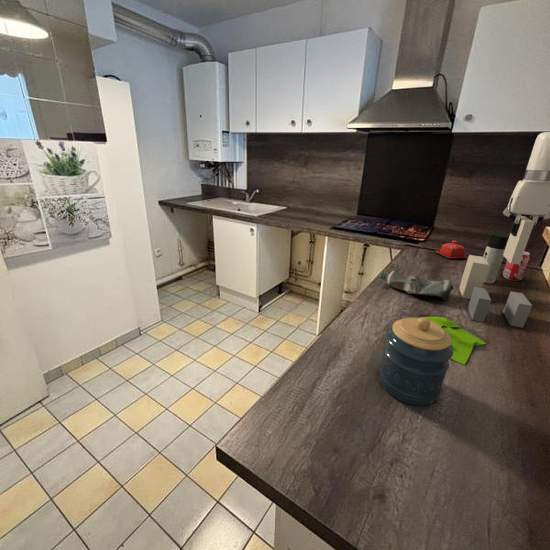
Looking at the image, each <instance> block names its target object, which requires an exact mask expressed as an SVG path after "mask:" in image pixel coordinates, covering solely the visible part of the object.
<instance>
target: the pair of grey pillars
mask: <svg viewBox="0 0 550 550" xmlns="http://www.w3.org/2000/svg"><path fill="white" fill-rule="evenodd" d="M491 303H492V299H491V297H490V294H489V293H488V291H487V289H486V288H483V287H482V288H478V287H474V289H473V292H472V295H471V299H469V302H468V306H467V310H468V313H469V315H470V319H471V321H475V322H480V323H484V322H485V320H486V317H487V314H488V311H489V308H490V306H491ZM532 307H533V305H532V303H531V302H530V301H529V299H528V298H527V297H526V295H524V293H523V292H517V291H510V292H509V294H508V297H507V300H506V303H505V306H504V308H503V311H502V313H503V315H504V316H505V318H506V320H507V322H508V324H509V325H510V326H511V327H517V328H520V329H521V328H522V329H523V328H524V326H525V324H526V322H527V320H528V317H529V315H530V313H531V309H532Z"/></svg>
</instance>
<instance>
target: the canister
mask: <svg viewBox="0 0 550 550" xmlns="http://www.w3.org/2000/svg"><path fill="white" fill-rule="evenodd" d="M425 317H426V316H421V317H415V316H414V317H406V318H400V319H398V320H396V321H395V322H393V324H392V326H391V328H390V329H388V331H387V332H386V342H385V343H384V346H383V354H382V355H383V356H382V360H381V364H380V366H379V375H378V376H379V382H380V384H381V386H382V388H383V389H384V390H385V391H386V392H387V393H388V394H389V395H390V396H391V397H393V398H395V399H397V400H398V401H400V402H403V403H406V404H408V405H412V406H413V405H414V406H428V405H431V404H433V403H435V402H436V401H437V400H438V398H439V397H440V395H441V393H442V389H443V383H444V381H445V378H446V374H447V372H448V370H449V368H450V360H451V359H450V358H451V357H452V356H453V348H452V346H451V342H452V340H451V337H450V335H449V334H448V333H447V332H446V331H445V330H444V329H442V328H441V327H440V326H439V325H437V324H436V323H434V322H432V321H429V319H427V318H425Z"/></svg>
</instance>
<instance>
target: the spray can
mask: <svg viewBox="0 0 550 550" xmlns="http://www.w3.org/2000/svg"><path fill="white" fill-rule="evenodd" d="M509 236H510V235H508V234H505V233H500V232H492V233H490V235H489V238H488V241H487V244H486V247H485V250H484V253H483V256H482V257H484V258H485V259H486V261H487V262H488V264H489V267H488V270H487V273H486V276H485V279H484V282H483V284H487V285H490V284H491V285H492V284H494V283H496V281H497V278H498V274H499V272H500V269H501V266H502V263H503V261H504V258H505V257H504V256H503V254H504V251H505V248H506V245H507V242H508V239H509Z"/></svg>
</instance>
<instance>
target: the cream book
mask: <svg viewBox="0 0 550 550" xmlns="http://www.w3.org/2000/svg"><path fill="white" fill-rule="evenodd" d="M519 224H520V226H519V229H518V232H517V235H516V236H513V235H512V234H511V232H510V233H509V235H508V236H509V239H508V242H507V245H506V248H505V251H504V254H503V256H504V258H505V259H506V261H507V260H508V261H509V262H510V263H512V264H520V261H521V258H522V256H523V253H524V251H525V250H526V247H527V244H528V242H529V239H530V236H531V234H532V232H533V229H534V227H533V225H534V221H532V220H530V218H528V217H526V216H523V215H522V216H521V218H520V221H519ZM534 226H535V225H534ZM532 228H533V229H532ZM531 231H532V232H531ZM530 233H531V234H530Z"/></svg>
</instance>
